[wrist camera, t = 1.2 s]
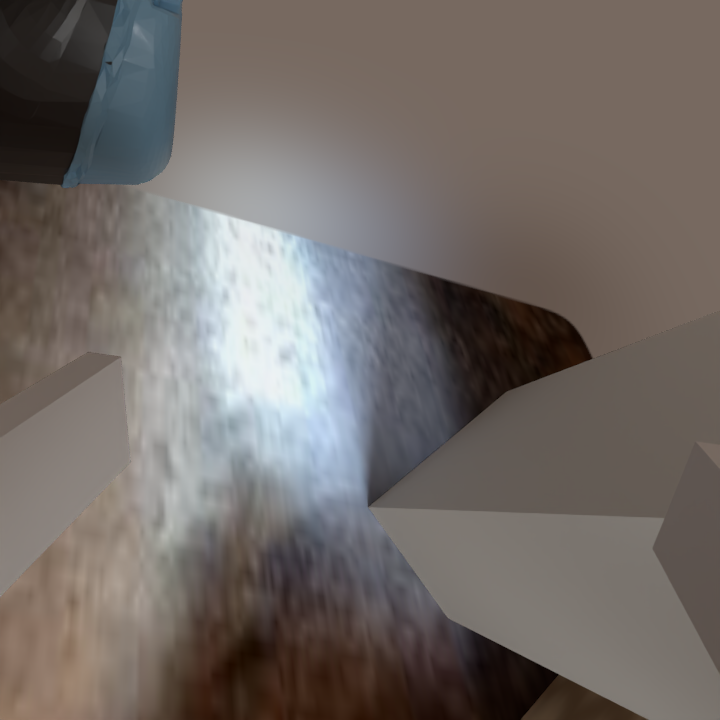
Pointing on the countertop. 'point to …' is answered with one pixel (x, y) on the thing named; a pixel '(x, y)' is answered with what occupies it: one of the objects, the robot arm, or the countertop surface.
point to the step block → (575, 521)
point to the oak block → (576, 704)
